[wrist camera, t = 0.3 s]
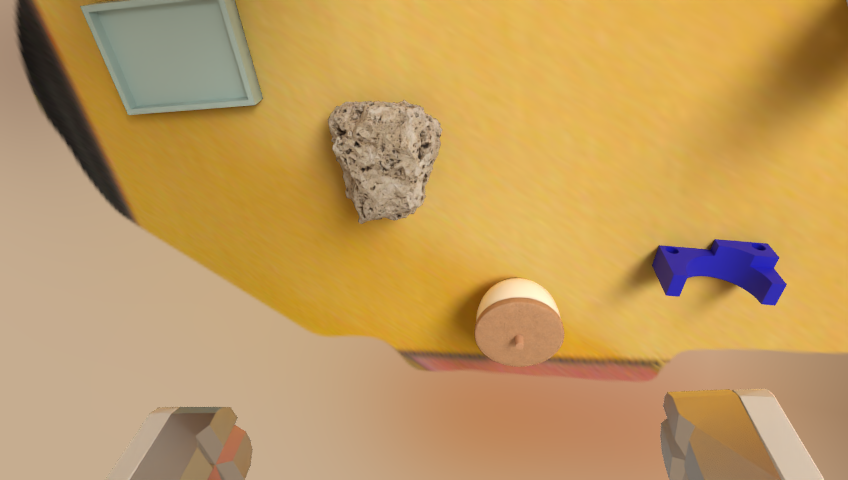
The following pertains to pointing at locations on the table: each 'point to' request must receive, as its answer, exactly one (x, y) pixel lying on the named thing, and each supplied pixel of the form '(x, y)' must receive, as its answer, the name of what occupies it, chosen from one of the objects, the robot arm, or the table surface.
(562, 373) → the table surface
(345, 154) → the pumice stone
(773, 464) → the robot arm
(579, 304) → the table surface
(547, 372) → the table surface
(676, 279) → the cable clip
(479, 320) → the lidded jar
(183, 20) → the tray
